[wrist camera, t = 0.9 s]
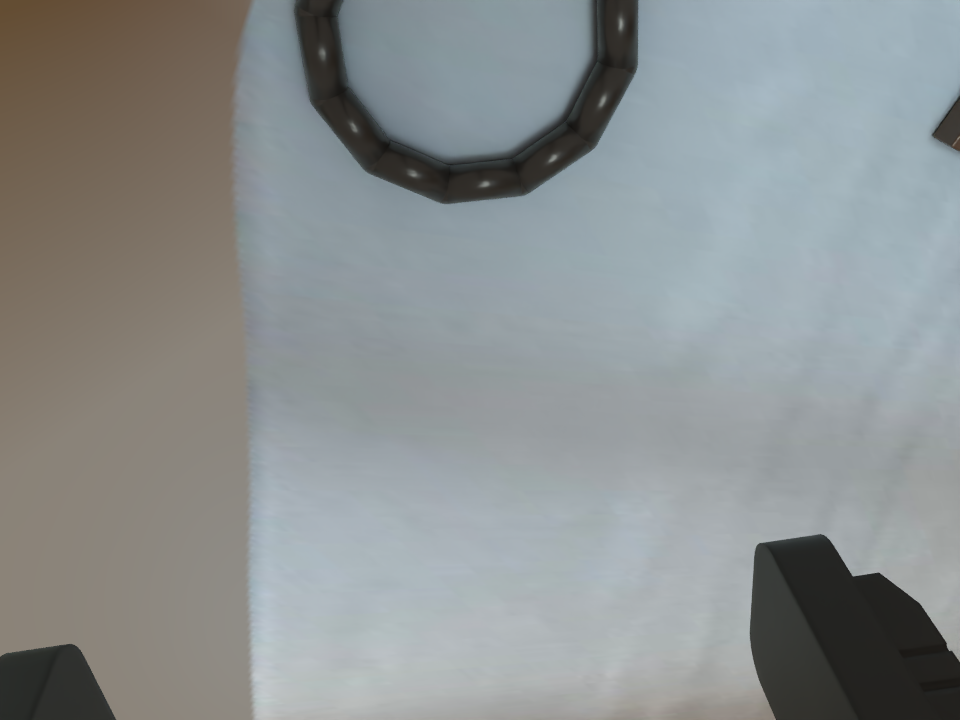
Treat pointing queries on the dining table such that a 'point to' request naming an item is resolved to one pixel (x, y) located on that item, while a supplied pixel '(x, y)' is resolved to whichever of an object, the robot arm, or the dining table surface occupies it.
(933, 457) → the dining table surface
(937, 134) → the post
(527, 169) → the ring
